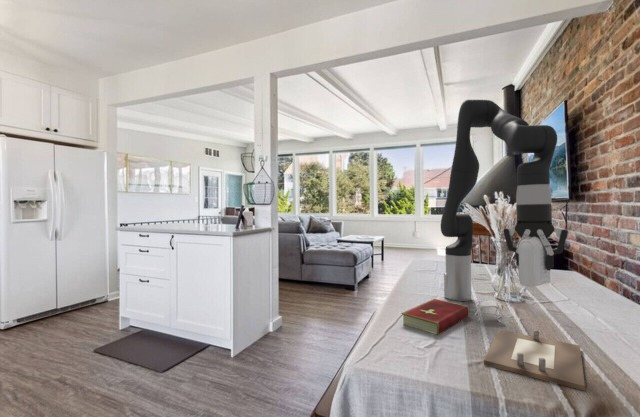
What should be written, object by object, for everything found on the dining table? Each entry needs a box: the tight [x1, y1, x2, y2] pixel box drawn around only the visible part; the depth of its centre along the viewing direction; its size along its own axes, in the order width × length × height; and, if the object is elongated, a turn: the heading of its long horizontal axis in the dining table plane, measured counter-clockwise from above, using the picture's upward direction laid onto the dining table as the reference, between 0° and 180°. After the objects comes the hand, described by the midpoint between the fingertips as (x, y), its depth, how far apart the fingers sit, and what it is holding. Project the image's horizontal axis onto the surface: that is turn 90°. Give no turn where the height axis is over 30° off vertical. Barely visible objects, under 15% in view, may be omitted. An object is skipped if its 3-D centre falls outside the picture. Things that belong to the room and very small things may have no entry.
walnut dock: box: [483, 329, 586, 391], centre depth 77 cm, size 18×22×4 cm
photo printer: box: [518, 236, 551, 288], centre depth 82 cm, size 10×4×12 cm, turn 124°
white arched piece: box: [473, 299, 504, 323], centre depth 103 cm, size 12×8×5 cm
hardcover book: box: [400, 298, 470, 336], centre depth 102 cm, size 12×21×4 cm, turn 133°
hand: (534, 268), depth 82 cm, fingers closed on photo printer, 5 cm apart
